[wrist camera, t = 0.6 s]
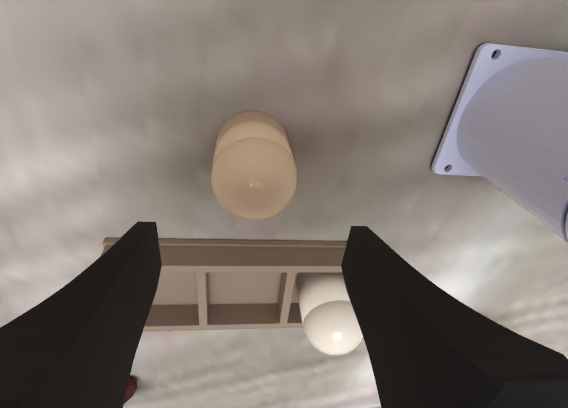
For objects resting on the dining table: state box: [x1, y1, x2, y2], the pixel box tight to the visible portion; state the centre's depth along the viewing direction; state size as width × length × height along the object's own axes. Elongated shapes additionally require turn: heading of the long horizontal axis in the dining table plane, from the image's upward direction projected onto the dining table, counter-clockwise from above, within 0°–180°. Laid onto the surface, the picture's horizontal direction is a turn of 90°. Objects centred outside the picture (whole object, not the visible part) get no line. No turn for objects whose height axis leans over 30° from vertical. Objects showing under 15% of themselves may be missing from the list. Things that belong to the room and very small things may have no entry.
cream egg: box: [295, 272, 363, 355], centre depth 24 cm, size 4×4×6 cm
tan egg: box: [211, 111, 297, 220], centre depth 18 cm, size 4×4×6 cm
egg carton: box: [100, 238, 347, 332], centre depth 25 cm, size 20×7×2 cm, turn 84°
